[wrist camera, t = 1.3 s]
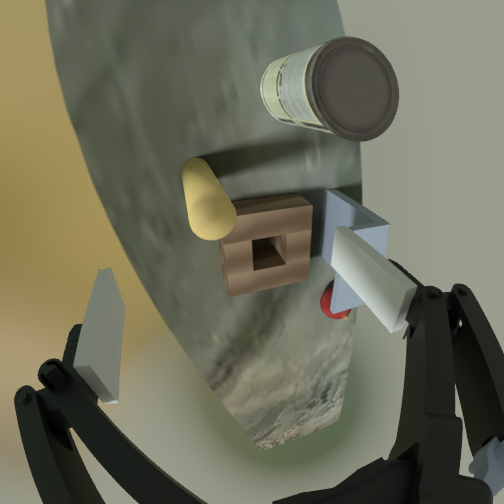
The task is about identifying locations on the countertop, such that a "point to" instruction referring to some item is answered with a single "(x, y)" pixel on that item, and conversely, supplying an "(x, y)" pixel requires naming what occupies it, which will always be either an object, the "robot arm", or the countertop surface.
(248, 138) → the countertop surface
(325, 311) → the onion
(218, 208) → the peg
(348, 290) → the light blue box
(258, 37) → the countertop surface
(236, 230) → the socket block
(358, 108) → the coffee can
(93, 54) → the countertop surface
